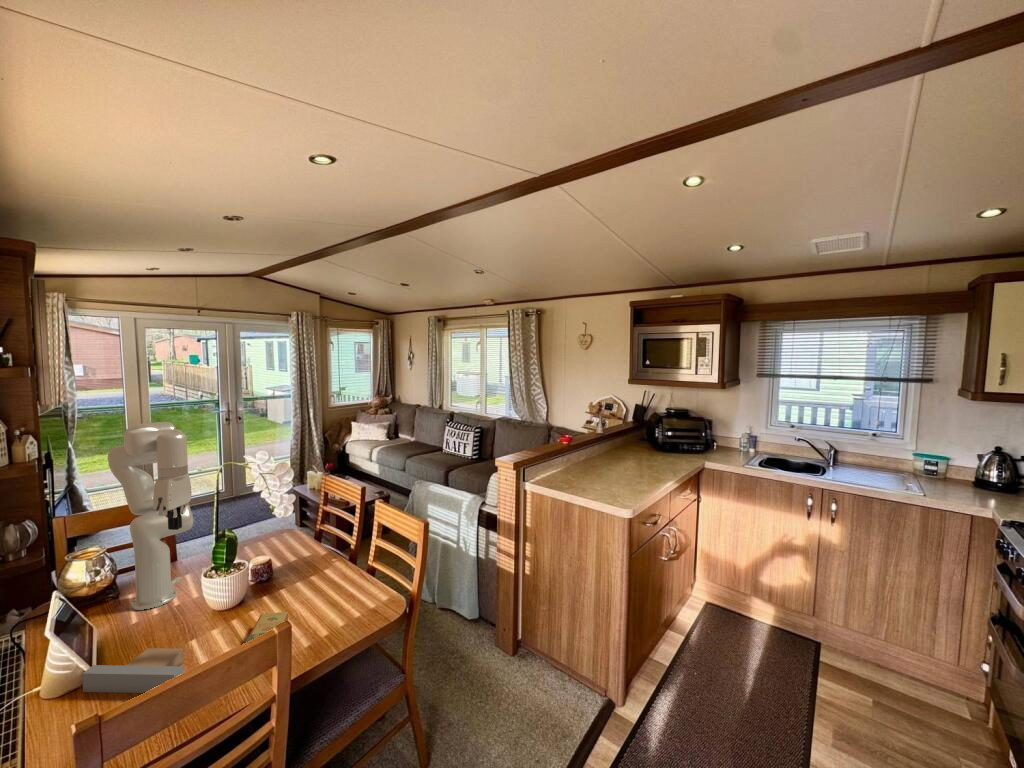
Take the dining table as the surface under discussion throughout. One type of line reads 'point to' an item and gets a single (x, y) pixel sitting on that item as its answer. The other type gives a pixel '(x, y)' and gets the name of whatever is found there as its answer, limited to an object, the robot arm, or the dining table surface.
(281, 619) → the carton
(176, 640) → the dining table surface
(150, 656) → the walnut block
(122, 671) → the board
